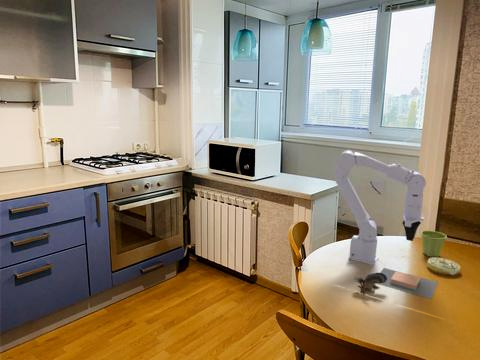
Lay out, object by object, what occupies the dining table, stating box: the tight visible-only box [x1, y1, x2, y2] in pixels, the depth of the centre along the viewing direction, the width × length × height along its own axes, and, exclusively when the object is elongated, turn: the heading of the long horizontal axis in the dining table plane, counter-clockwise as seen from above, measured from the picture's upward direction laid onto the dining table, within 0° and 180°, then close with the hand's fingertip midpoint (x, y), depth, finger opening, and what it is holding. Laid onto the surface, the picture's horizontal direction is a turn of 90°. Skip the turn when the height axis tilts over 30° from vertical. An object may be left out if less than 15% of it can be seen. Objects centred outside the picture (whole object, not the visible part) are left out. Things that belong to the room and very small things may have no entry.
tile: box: [390, 270, 420, 290], centre depth 123 cm, size 8×2×7 cm
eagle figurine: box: [354, 272, 387, 294], centre depth 118 cm, size 8×7×9 cm
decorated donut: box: [426, 256, 461, 276], centre depth 134 cm, size 10×11×4 cm
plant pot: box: [420, 230, 448, 258], centre depth 148 cm, size 9×9×9 cm
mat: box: [378, 267, 439, 300], centre depth 124 cm, size 18×14×1 cm
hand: (409, 240), depth 135 cm, fingers closed
